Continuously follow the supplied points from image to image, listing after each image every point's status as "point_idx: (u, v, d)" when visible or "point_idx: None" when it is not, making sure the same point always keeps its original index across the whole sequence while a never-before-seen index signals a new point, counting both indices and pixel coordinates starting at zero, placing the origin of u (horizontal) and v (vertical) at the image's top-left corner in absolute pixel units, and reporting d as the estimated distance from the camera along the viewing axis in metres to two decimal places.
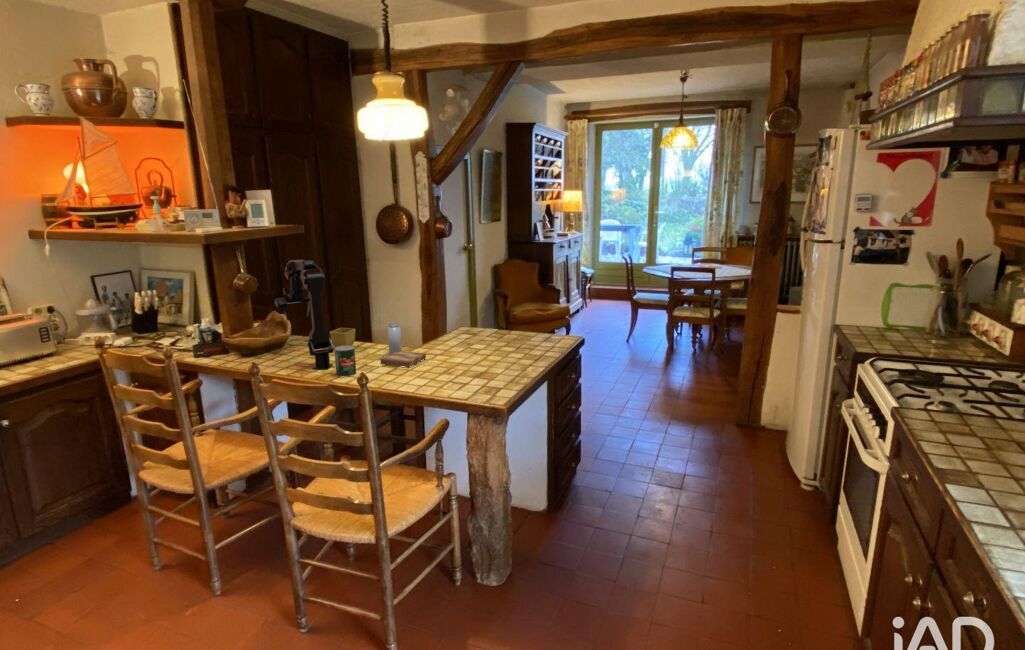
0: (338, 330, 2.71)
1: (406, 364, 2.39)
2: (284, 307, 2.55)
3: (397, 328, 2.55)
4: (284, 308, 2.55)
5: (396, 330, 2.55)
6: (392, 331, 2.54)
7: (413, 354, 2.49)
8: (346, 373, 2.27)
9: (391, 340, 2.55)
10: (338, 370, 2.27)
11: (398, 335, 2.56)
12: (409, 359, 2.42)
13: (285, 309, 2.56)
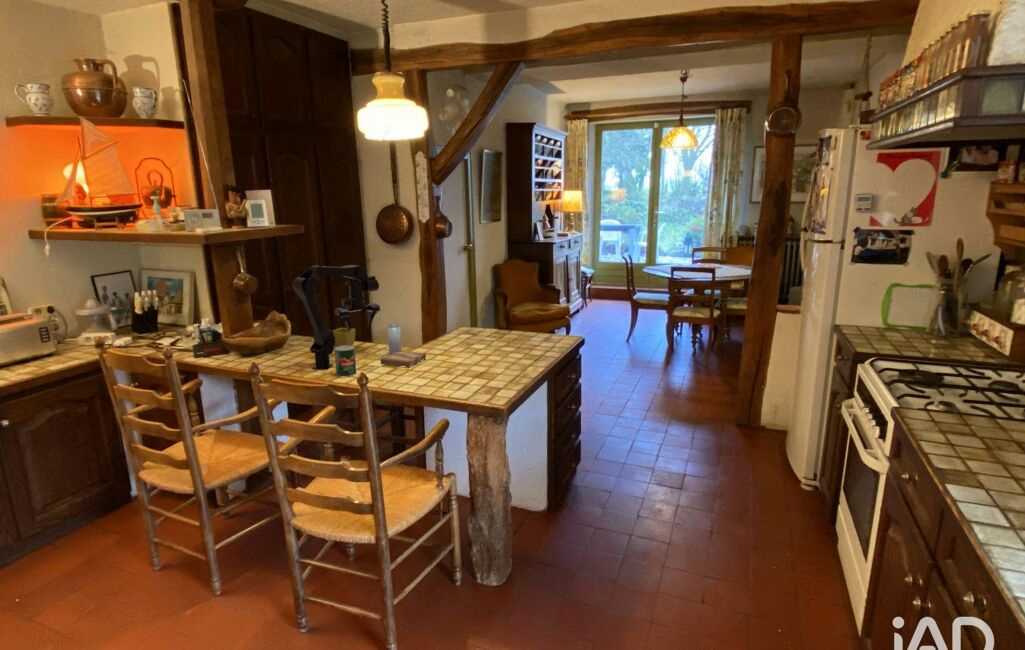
0: (338, 330, 2.71)
1: (406, 364, 2.39)
2: (346, 315, 2.44)
3: (397, 328, 2.55)
4: (346, 316, 2.44)
5: (396, 330, 2.55)
6: (392, 331, 2.54)
7: (413, 354, 2.49)
8: (346, 373, 2.27)
9: (391, 340, 2.55)
10: (338, 370, 2.27)
11: (398, 335, 2.56)
12: (409, 359, 2.42)
13: (347, 317, 2.44)
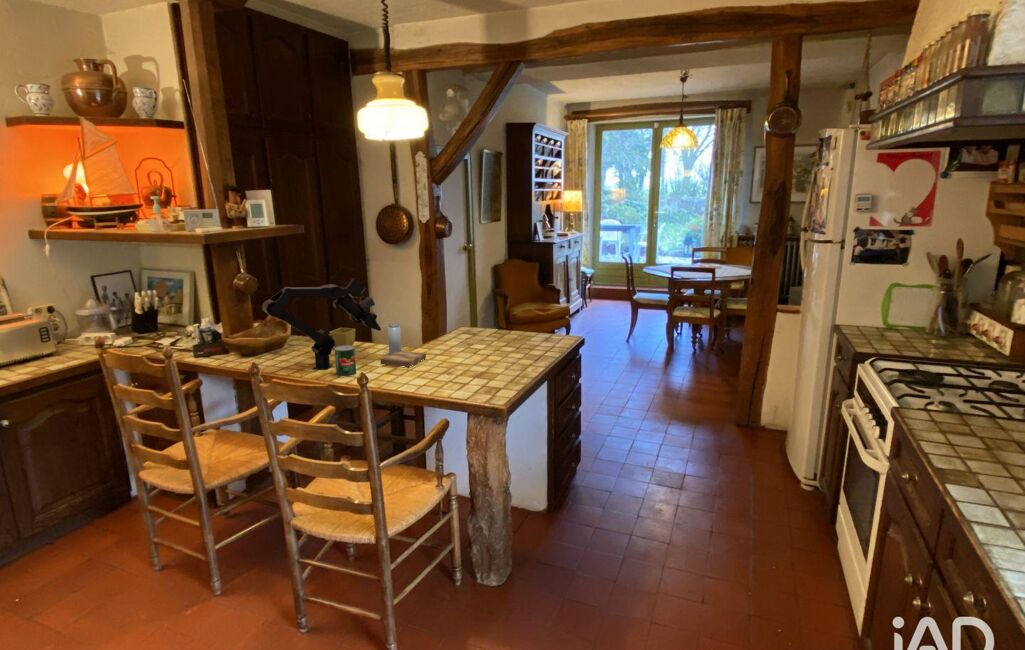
0: (338, 330, 2.71)
1: (406, 364, 2.39)
2: (353, 320, 2.52)
3: (397, 328, 2.55)
4: (354, 321, 2.52)
5: (396, 330, 2.55)
6: (392, 331, 2.54)
7: (413, 354, 2.49)
8: (346, 373, 2.27)
9: (391, 340, 2.55)
10: (338, 370, 2.27)
11: (398, 335, 2.56)
12: (409, 359, 2.42)
13: None
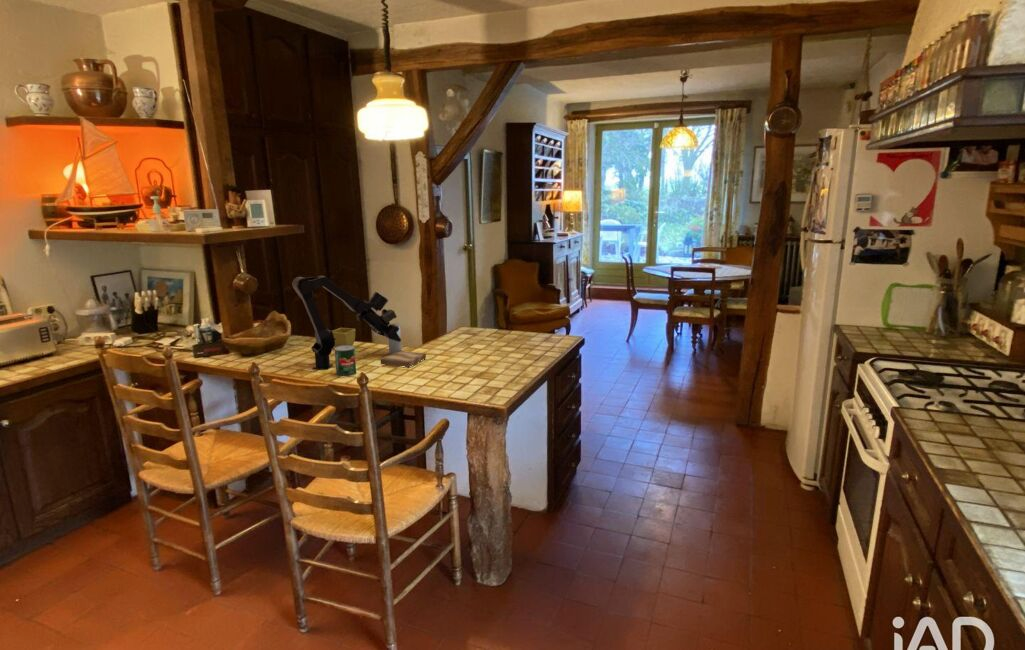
0: (338, 330, 2.71)
1: (406, 364, 2.39)
2: (375, 332, 2.59)
3: None
4: (378, 333, 2.58)
5: None
6: None
7: (413, 354, 2.49)
8: (346, 373, 2.27)
9: (391, 340, 2.55)
10: (338, 370, 2.27)
11: (398, 335, 2.56)
12: (409, 359, 2.42)
13: (379, 334, 2.58)
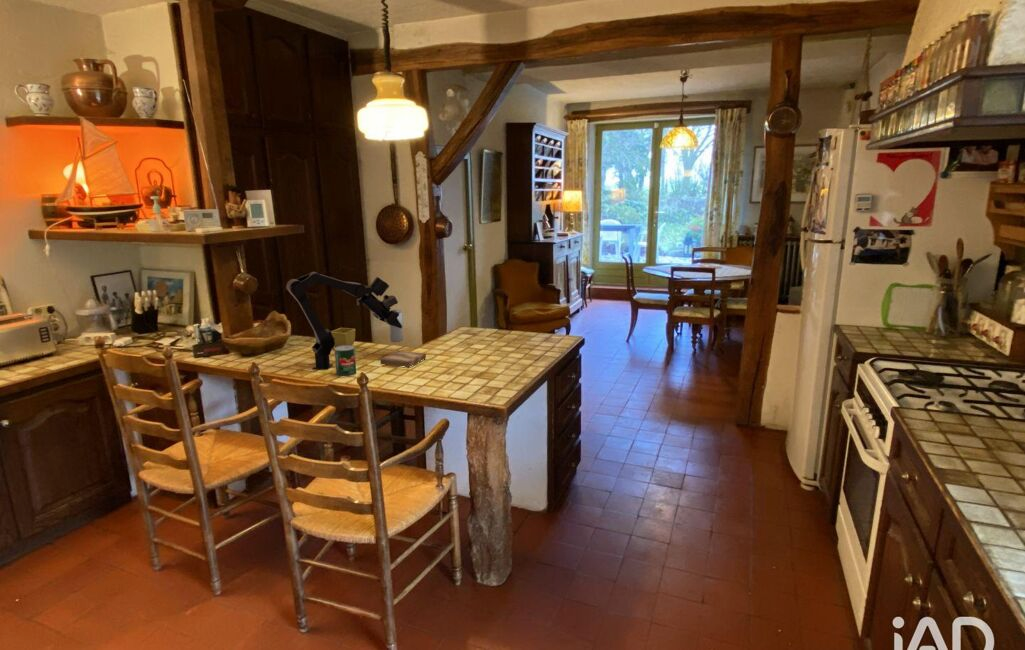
0: (338, 330, 2.71)
1: (406, 364, 2.39)
2: (377, 318, 2.56)
3: None
4: (379, 319, 2.55)
5: None
6: None
7: (413, 354, 2.49)
8: (346, 373, 2.27)
9: (392, 326, 2.52)
10: (338, 370, 2.27)
11: None
12: (409, 359, 2.42)
13: (381, 320, 2.55)
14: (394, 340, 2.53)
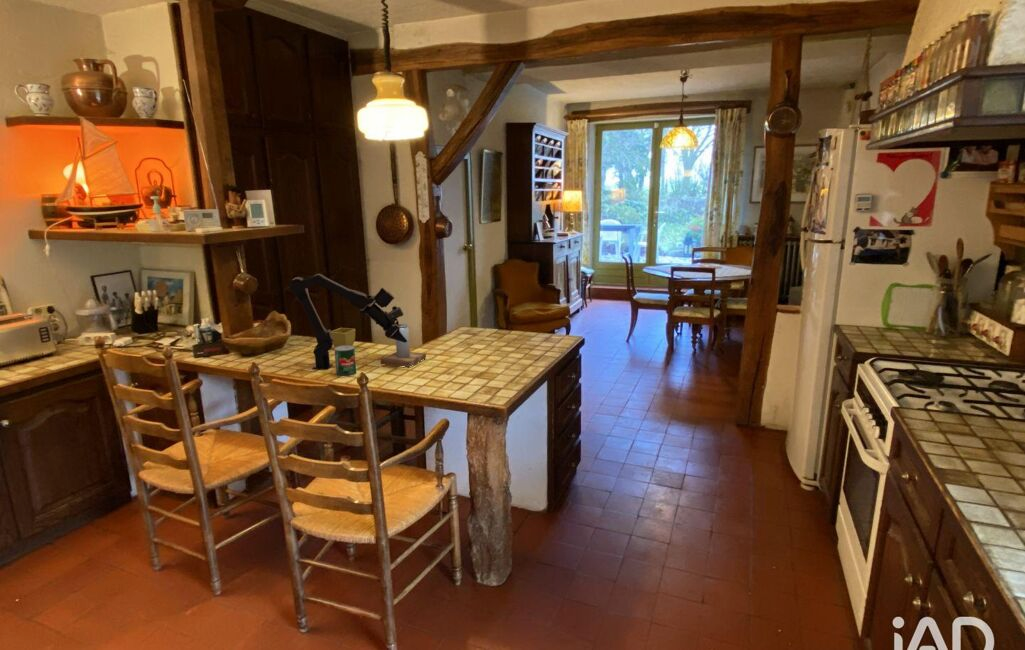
0: (338, 330, 2.71)
1: (406, 364, 2.39)
2: None
3: (402, 329, 2.41)
4: None
5: (401, 331, 2.41)
6: None
7: (413, 354, 2.49)
8: (346, 373, 2.27)
9: (396, 340, 2.43)
10: (338, 370, 2.27)
11: None
12: (409, 359, 2.42)
13: None
14: (398, 355, 2.44)
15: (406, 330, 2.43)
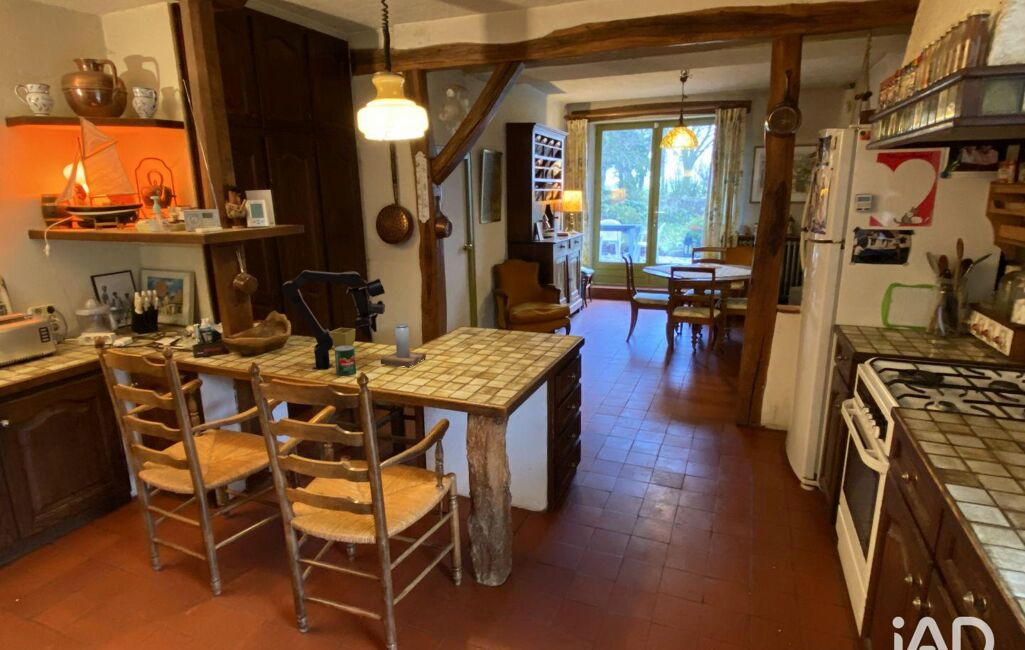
0: (338, 330, 2.71)
1: (406, 364, 2.39)
2: None
3: (402, 329, 2.41)
4: None
5: (401, 331, 2.41)
6: (398, 332, 2.42)
7: (413, 354, 2.49)
8: (346, 373, 2.27)
9: (396, 340, 2.43)
10: (338, 370, 2.27)
11: (403, 337, 2.42)
12: (409, 359, 2.42)
13: None
14: (398, 355, 2.44)
15: (406, 330, 2.43)
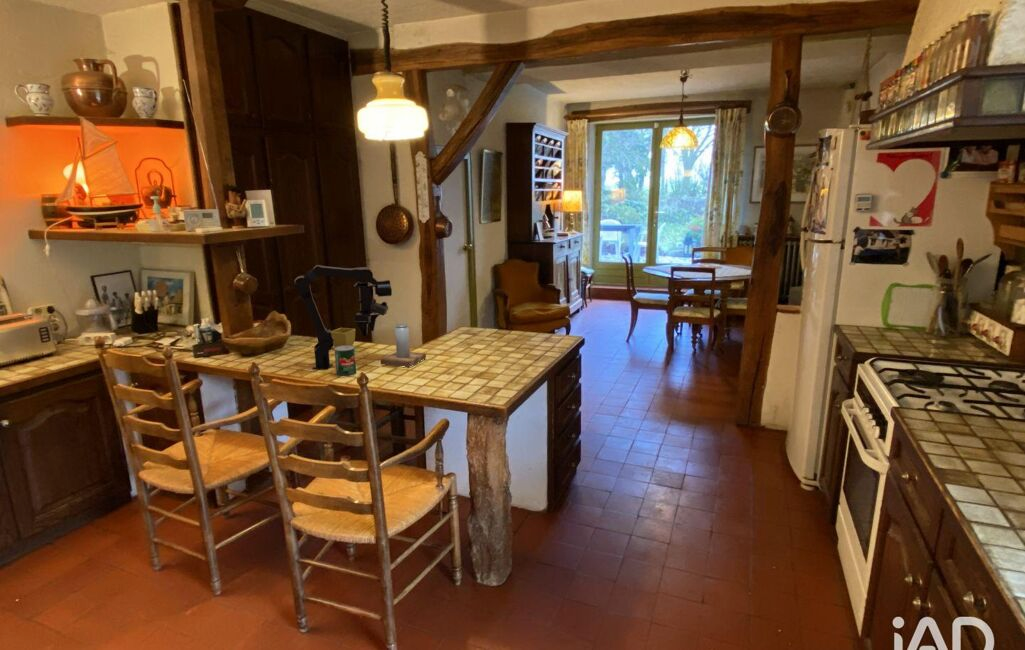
0: (338, 330, 2.71)
1: (406, 364, 2.39)
2: None
3: (402, 329, 2.41)
4: None
5: (401, 331, 2.41)
6: (398, 332, 2.42)
7: (413, 354, 2.49)
8: (346, 373, 2.27)
9: (396, 340, 2.43)
10: (338, 370, 2.27)
11: (403, 337, 2.42)
12: (409, 359, 2.42)
13: None
14: (398, 355, 2.44)
15: (406, 330, 2.43)
